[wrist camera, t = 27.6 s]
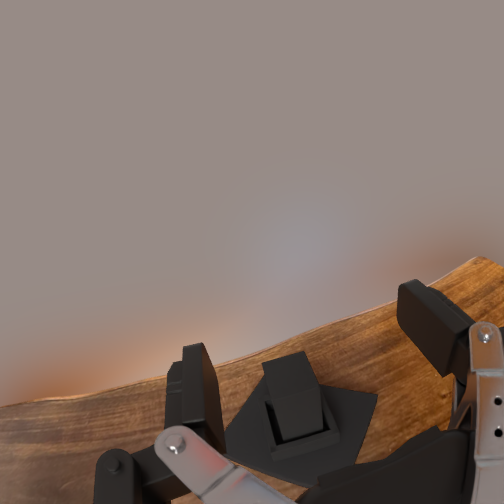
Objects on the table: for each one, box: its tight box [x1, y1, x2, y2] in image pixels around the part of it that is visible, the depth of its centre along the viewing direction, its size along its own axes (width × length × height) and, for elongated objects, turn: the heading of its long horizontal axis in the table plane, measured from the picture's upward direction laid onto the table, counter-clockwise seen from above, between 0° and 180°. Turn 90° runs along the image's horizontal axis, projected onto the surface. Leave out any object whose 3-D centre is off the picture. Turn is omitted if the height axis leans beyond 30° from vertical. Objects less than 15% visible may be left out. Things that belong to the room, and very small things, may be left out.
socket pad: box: [222, 375, 378, 488], centre depth 31 cm, size 14×16×4 cm
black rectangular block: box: [262, 351, 323, 444], centre depth 29 cm, size 5×4×10 cm
